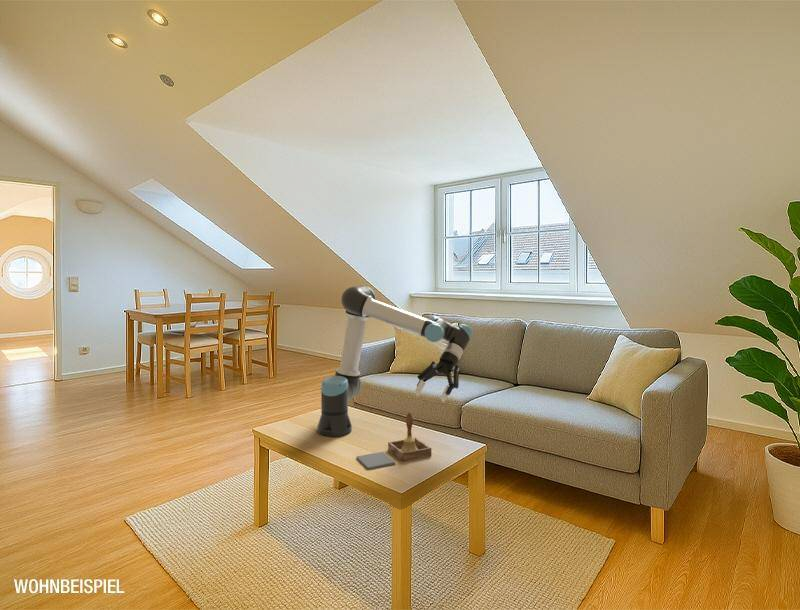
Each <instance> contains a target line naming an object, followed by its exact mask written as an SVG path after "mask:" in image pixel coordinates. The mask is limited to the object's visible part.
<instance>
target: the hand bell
mask: <svg viewBox="0 0 800 610" xmlns="http://www.w3.org/2000/svg"><path fill="white" fill-rule="evenodd" d="M405 418H406V419H405V424H406V428H407V432H406V436H407V437H405V438H404V439H403V440H404V443H403V447H402V448H399V449H400V450H401V451H402V452H409V451H414V450H419V448H418V447H416V443H415V439H414V438H415V437H412V428H413V422H414V420H413V416H412V413H411V412H408V413H407V416H406V417H405Z"/></svg>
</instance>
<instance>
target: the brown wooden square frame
mask: <svg viewBox="0 0 800 610" xmlns="http://www.w3.org/2000/svg"><path fill="white" fill-rule="evenodd" d="M413 438H414V439H415V443H416V446H417V449H418V450H414V451H409V452H402V451H401V450H400V449H401V448H402V447H403V443H404V439H401V440H393V441H389V442H388V444H387V446H388V447H387V450H388V451H389V452H390V453H392V454H393V455H394V456H395V457H397V458H398V459H399V460H400V461H401V462H406V461H412V460H416V459H420V458H421V459H422V458H426V457H427V458H428V457H431V456H432V447H430V446H429V445H428V444H426V443H425V442H423V441H422V440H420V439H419V438H418V437H413ZM398 448H399V449H398Z"/></svg>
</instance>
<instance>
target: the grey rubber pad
mask: <svg viewBox="0 0 800 610" xmlns="http://www.w3.org/2000/svg"><path fill="white" fill-rule="evenodd" d="M356 459H357V461H358V462H359V463H361V464H362V466H364V468H365V469H367V470H368V469H369V470H372V469H374V470H375V469H378V468H382V467H383V468H384V467H388V466H393V465H396V461H395V460H393V459H392V458H391V457H390V456H388V455H387V454H386V453H385V452H384V451H380V452H374V453H373V452H372V453H368V454H363V455H356Z"/></svg>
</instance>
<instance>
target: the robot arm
mask: <svg viewBox="0 0 800 610" xmlns="http://www.w3.org/2000/svg"><path fill="white" fill-rule="evenodd" d="M340 298H341V300H340V302H341V305H342V307H343V309H345V314H346V316H347V323H346V327H345V328H346V329H345V332H344V333H345V334H344V340H343V346H342V352H341V357H340V358H341V359H340V365H339V366H338V367H337V368H336V369H335V373H334V375H332V376H328V377H326V378H324V379H322V382H321V387H320V393H321V395H320V396H321V399H320V401H321V402H320V403H321V408H320V411H321V413H320V418H319V419H318V420H319V421H318V424H317V427H316V429H317V434H319V435H321V436H324V437H342V436H346V435H348V434H350V433H351V432H352V431H353V429H352V427H353V424H352V422H351V419H350V416H349V401H350V400H351V399H353V398H354V397H355V396H357V395H358V393H359V391H361V388H362V380H361V378H360V377H361V372H360V370H359V365H360V359H361V356H362V355H361V354H362V348H363V344H364V343H363V342H364V338H365V337H364V336H365V333H366V331H365V330H366V324H367V320H369V319H370V318H373V319H375V320H378V321H381V322H383V323H385V324H389V325H392V326H393V327H396V328H399V329H403V330H405V331H407V332H410V333H413V334H415V335H418V336H421V337H423V338H426V339H427V341H429V342H432V343H436V342H439V341H441V340H442V339H443V340H444V341H446V342H448V343H447V345H446V347H445V348H444V350H443V352H442V354H441V355H440V357H439V361H438V363H436V362H435V361H432V362H431V363H430V365H428V366H427V367H426V368H425V369H423V371H422V372H421V373H419V374H418V375H417V379H418V380H419V381H418V383H417V384H416V388H415V390H414V394H415V396H416V397H419V396H420V394H421V392H422V391H423V389H424V387H425V385H426V382H427V381H429V380H430V379H432V378H434V377H435V376H439V375H441V376H442V375H443V376H444V377H445V376H446V378H447V379H446V380H447V383H448V384H447V385H446V386H445V388H444V390H443V391H442V393H441V395H440V397H439V400H440V401H441V402H442V403H445V402H446V399H447V398H448V396H450V395H451V393H452V391H453V390H454V389H458V388H459V384H460V383H459V381H460V380H459V379H460V377H459V376H460V375H459V374H460V371H461V369H460V367H459V366H458V363H459V360H461V358H462V355H463V354H464V352H465V350H466V348H467V346H468V345H469V343H470V341H471V339H472V336H473V329H472V328H471V327H470V326H469V325H467V324H463V323H460V324H458V325H453V324H452V323H450V322H448V321H446V320H444V319H442V318H441V317H439V316H436V315H432V316H431V318H430V319H428V318H426V317H422V316H421V315H417V314H414V313H412V312H409V311H406V310H404V309H401V308H399V307H395V306H392V305H390V304H388V303H385V302H382V301H380V300H377V297H376V293H375V291H374V290H373V289H372V288H370V287H369V286H366V285H357V286H350V287H348V288H346V289H345V290H344V291H343V292H342V295H341V297H340ZM452 372H453V376H452Z"/></svg>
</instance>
